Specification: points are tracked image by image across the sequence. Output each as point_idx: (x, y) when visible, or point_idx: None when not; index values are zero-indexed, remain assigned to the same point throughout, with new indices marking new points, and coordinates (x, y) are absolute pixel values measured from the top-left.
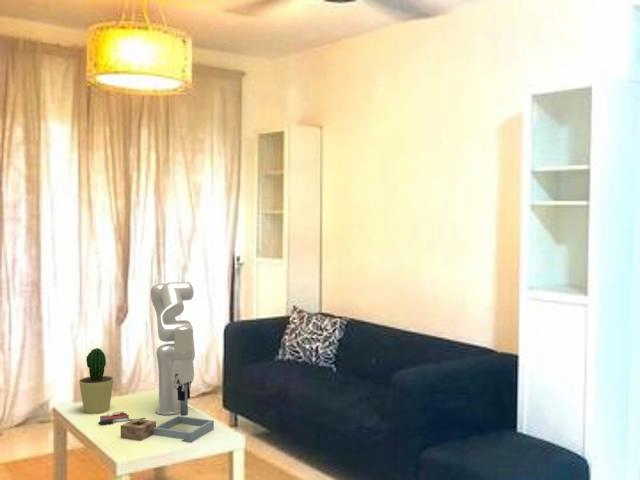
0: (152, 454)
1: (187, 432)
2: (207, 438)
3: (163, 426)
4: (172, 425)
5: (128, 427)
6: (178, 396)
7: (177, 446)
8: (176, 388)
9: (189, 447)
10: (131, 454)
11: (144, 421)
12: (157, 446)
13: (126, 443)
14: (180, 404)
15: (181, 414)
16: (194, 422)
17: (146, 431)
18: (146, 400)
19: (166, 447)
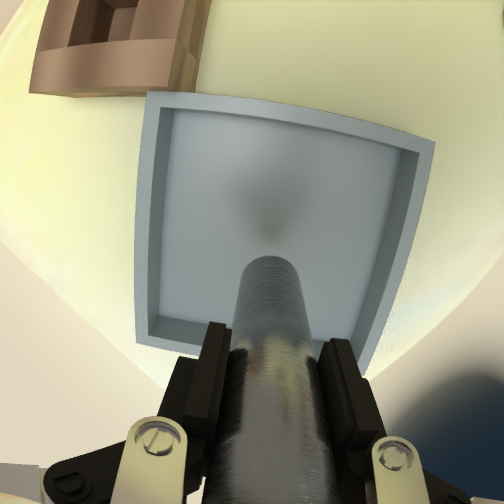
0: (4, 226)
1: (138, 327)
2: None
3: (240, 115)
4: (340, 134)
5: (49, 10)
6: (173, 371)
7: (92, 282)
8: (68, 462)
9: (104, 331)
10: None
11: (148, 16)
12: (62, 197)
13: None
14: (246, 307)
15: (241, 277)
16: (383, 261)
17: (88, 91)
18: None
19: (67, 242)
